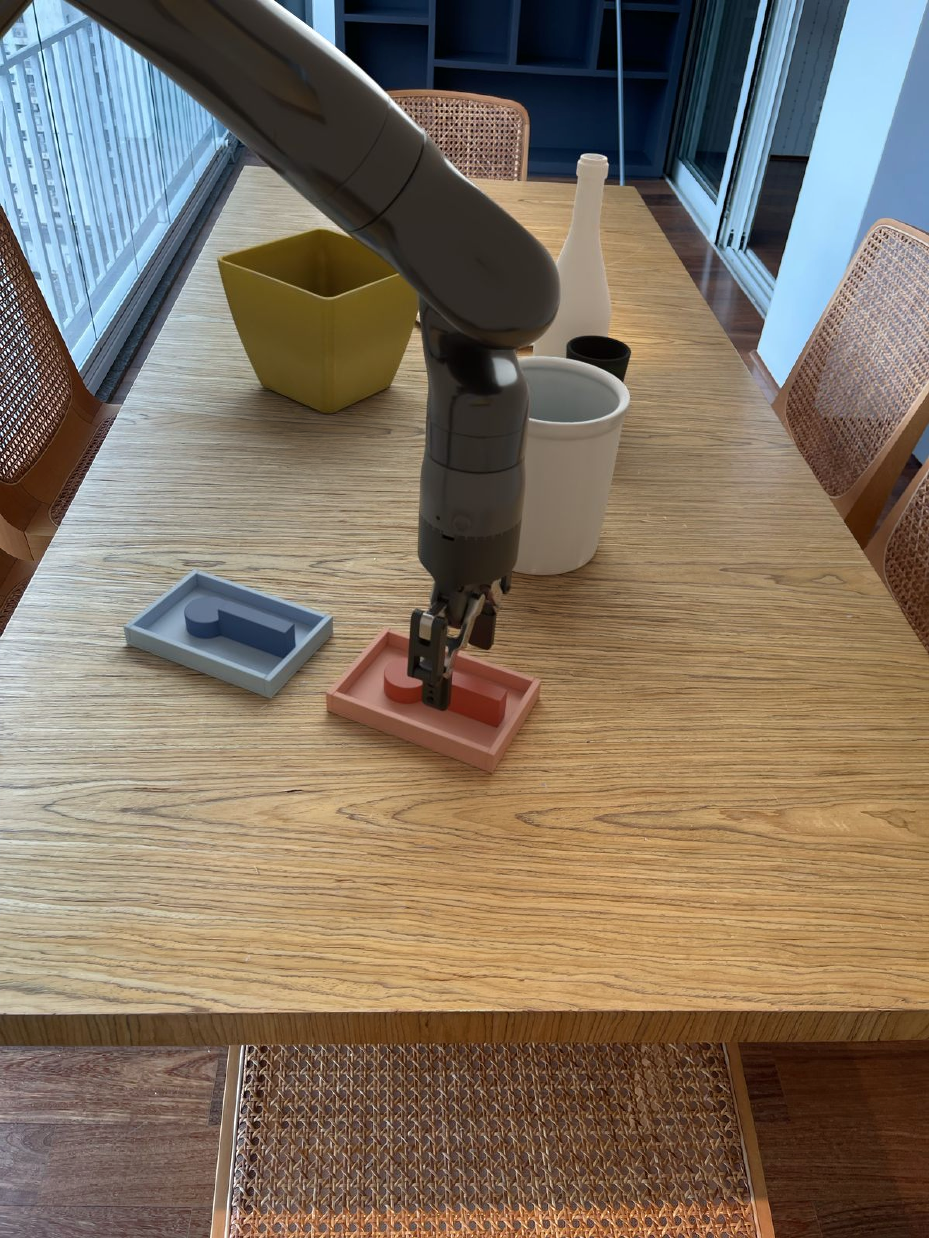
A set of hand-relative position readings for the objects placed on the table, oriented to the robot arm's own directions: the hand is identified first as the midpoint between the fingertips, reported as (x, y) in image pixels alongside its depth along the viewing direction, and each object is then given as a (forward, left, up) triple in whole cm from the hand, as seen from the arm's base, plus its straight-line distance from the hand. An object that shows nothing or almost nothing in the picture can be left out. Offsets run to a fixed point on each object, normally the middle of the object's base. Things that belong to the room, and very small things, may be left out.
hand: (458, 674), depth 82 cm
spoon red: (0, +1, -4) cm, 4 cm away
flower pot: (+49, +42, -4) cm, 65 cm away
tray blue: (-1, +22, -4) cm, 22 cm away
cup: (+53, +7, -4) cm, 54 cm away
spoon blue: (-1, +21, -4) cm, 22 cm away
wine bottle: (+64, +14, -4) cm, 66 cm away
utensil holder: (+28, +4, -4) cm, 29 cm away
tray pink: (0, +2, -4) cm, 5 cm away
